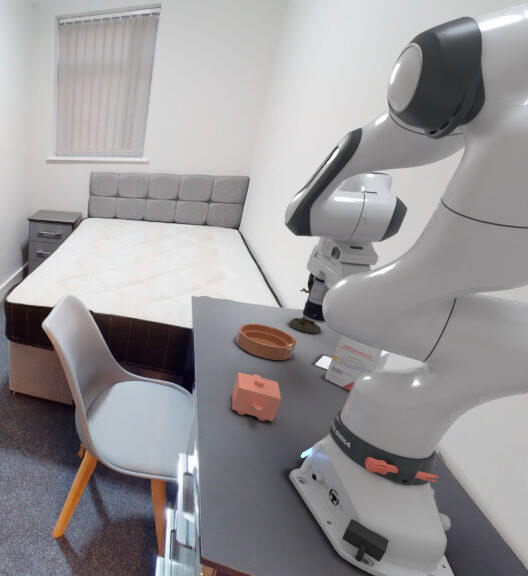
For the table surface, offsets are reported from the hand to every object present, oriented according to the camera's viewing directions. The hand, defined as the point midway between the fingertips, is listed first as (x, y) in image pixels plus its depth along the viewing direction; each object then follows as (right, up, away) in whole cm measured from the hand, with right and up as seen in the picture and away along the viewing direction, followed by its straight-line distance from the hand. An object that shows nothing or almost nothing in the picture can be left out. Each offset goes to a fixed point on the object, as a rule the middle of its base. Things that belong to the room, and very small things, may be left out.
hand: (322, 300), depth 90 cm
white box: (+14, -19, +12) cm, 26 cm away
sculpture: (+21, -11, +33) cm, 40 cm away
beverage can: (0, -5, +2) cm, 5 cm away
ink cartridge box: (+10, -22, +5) cm, 25 cm away
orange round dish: (-1, -15, +21) cm, 26 cm away
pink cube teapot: (-21, -25, -5) cm, 33 cm away
